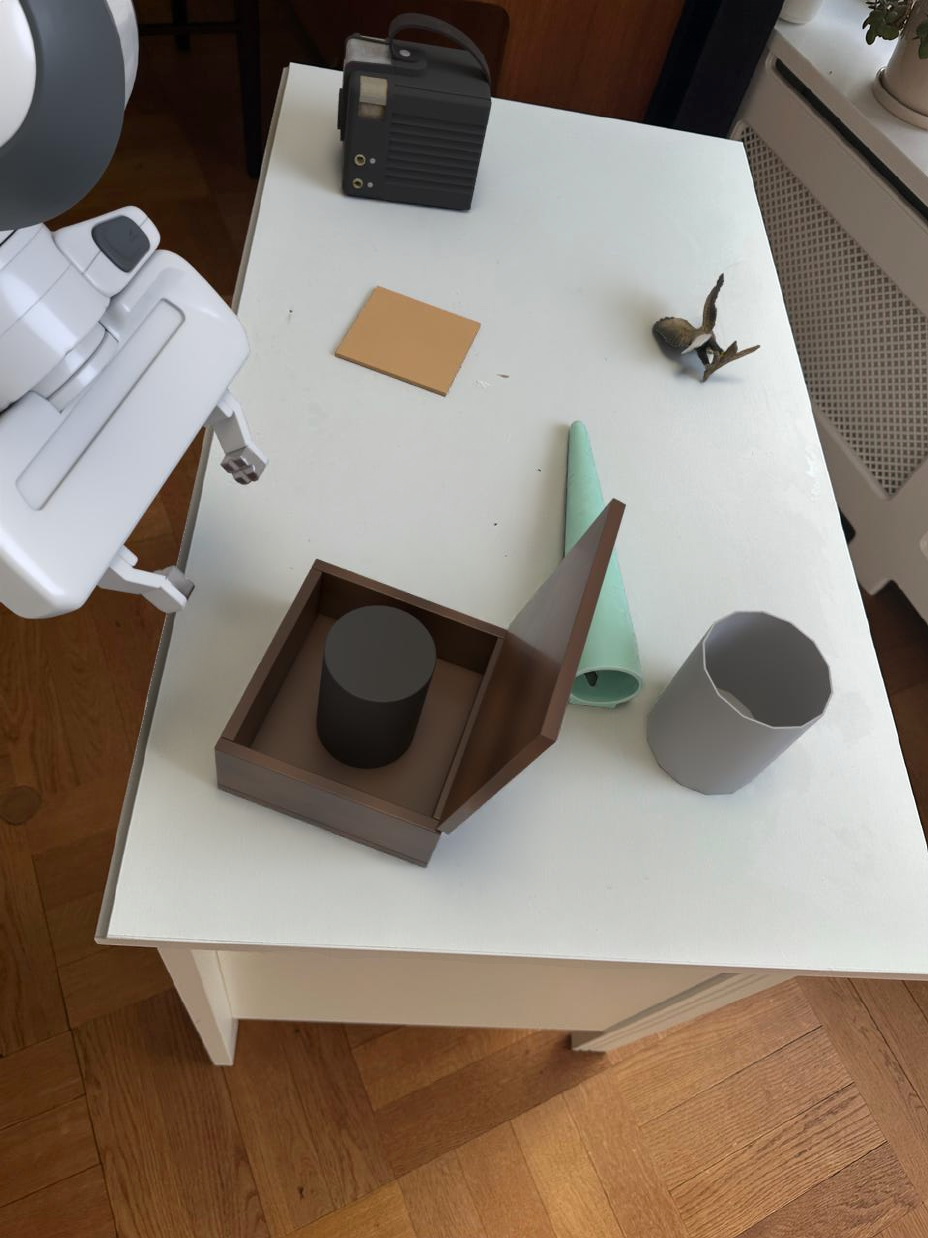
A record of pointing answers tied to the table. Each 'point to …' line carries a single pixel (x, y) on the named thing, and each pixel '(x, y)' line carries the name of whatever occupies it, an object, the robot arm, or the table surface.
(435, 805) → the chest
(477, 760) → the chest lid
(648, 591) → the table surface
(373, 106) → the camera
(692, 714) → the cup
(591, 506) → the mint green cone
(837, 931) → the table surface
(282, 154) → the table surface
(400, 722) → the dark grey cylinder
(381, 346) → the cork mat
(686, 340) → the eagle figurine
